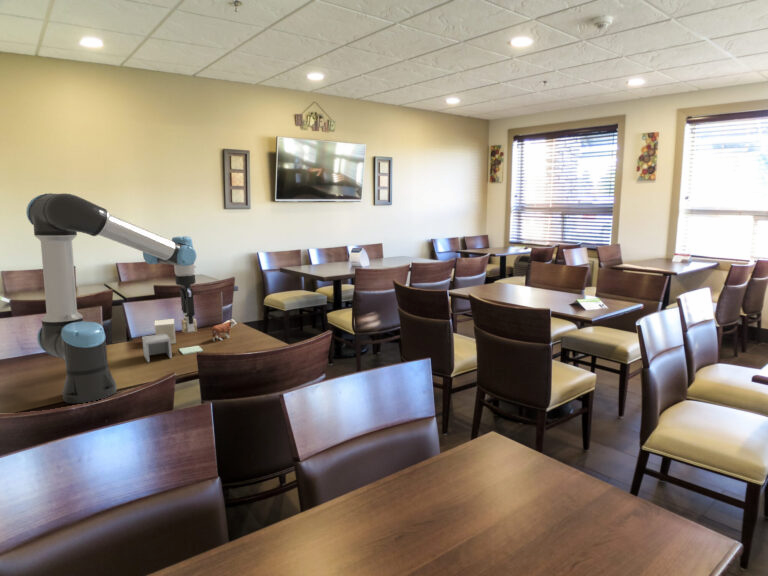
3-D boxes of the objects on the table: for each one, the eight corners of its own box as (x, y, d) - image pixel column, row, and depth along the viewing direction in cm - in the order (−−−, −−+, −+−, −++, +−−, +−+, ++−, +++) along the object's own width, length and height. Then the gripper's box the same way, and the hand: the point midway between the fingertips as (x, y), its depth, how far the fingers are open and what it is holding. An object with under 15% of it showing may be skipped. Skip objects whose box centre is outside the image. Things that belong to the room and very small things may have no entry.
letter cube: (197, 331, 206) (196, 319, 205) (184, 333, 203) (183, 321, 202) (194, 328, 210) (193, 317, 209) (182, 330, 207) (181, 318, 206)
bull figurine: (239, 335, 230) (238, 318, 229) (215, 342, 219) (214, 325, 218) (232, 334, 233) (231, 317, 231) (209, 341, 222) (207, 323, 220)
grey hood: (172, 358, 198) (170, 339, 197) (147, 362, 194) (145, 342, 192) (167, 351, 207) (165, 333, 205) (143, 355, 202) (142, 336, 200)
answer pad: (203, 351, 207) (203, 350, 207) (182, 354, 202) (182, 353, 202) (198, 346, 213) (198, 345, 213) (178, 350, 209) (178, 348, 209)
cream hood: (156, 345, 216) (176, 343, 219) (154, 325, 214) (174, 323, 217) (156, 339, 225) (175, 337, 228) (154, 320, 223) (173, 318, 226)
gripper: (199, 276, 197) (204, 333, 201) (189, 271, 212) (194, 323, 216) (179, 278, 192) (184, 336, 197) (170, 272, 208) (175, 326, 212)
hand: (189, 329), depth 206 cm, fingers closed on letter cube, 5 cm apart
